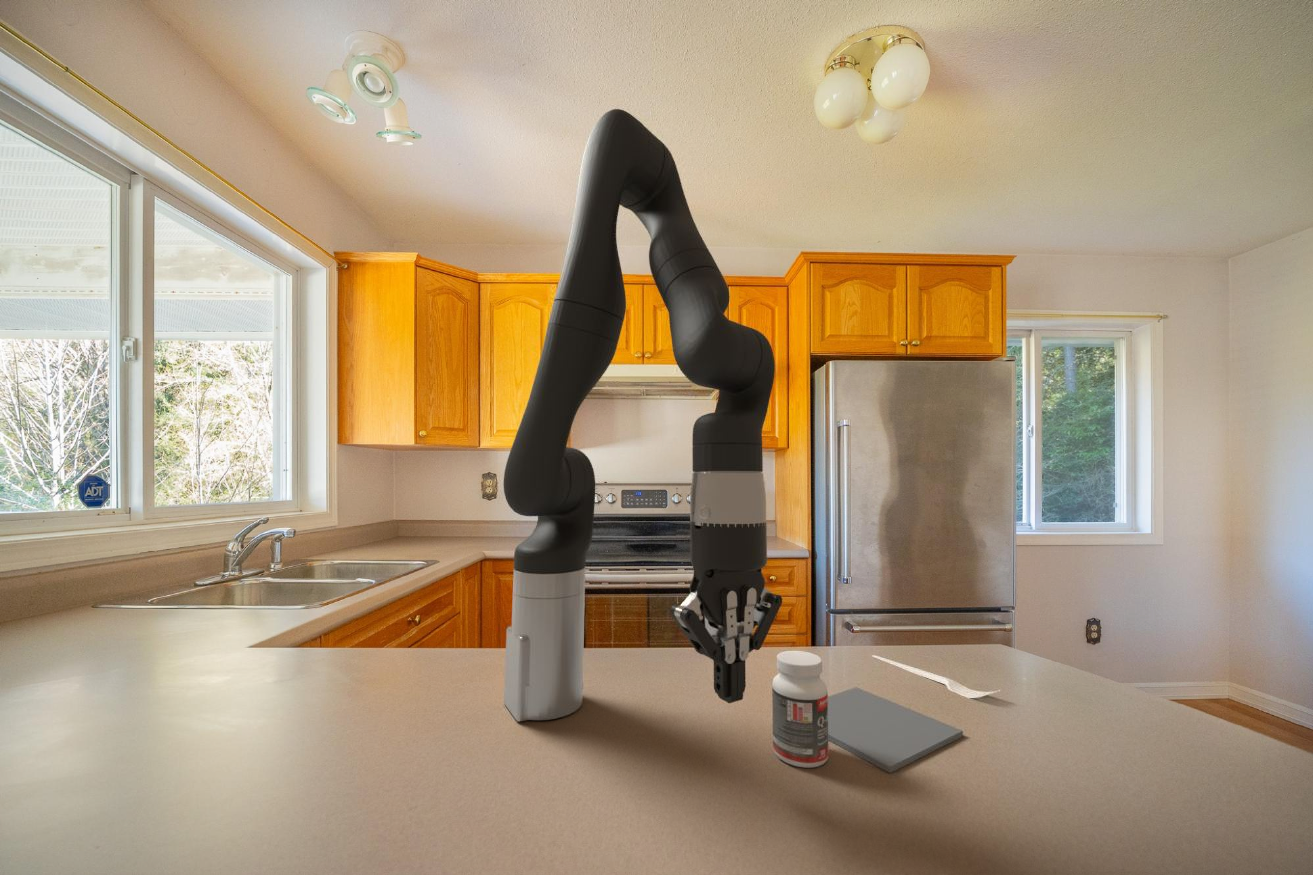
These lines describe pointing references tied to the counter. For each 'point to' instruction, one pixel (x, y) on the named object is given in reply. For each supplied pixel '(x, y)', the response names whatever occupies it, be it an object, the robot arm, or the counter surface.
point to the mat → (884, 729)
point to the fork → (940, 680)
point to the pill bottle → (800, 710)
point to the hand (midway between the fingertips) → (729, 698)
